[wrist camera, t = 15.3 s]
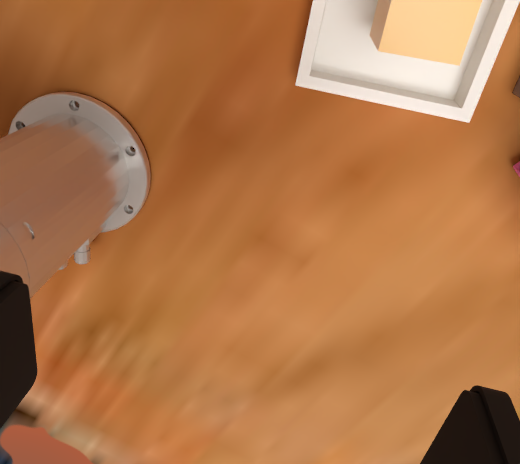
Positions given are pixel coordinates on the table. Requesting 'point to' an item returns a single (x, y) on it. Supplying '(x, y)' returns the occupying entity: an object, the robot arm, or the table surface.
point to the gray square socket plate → (517, 88)
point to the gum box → (517, 168)
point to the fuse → (424, 28)
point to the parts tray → (398, 60)
